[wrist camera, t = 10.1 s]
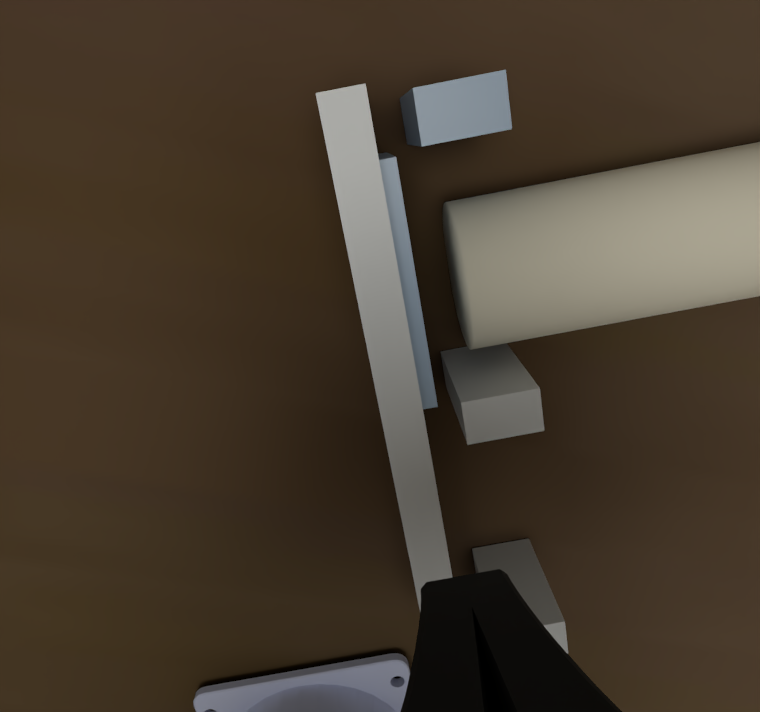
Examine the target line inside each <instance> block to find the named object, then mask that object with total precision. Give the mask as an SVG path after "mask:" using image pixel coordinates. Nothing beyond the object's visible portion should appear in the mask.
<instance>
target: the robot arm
mask: <svg viewBox="0 0 760 712" xmlns="http://www.w3.org/2000/svg"><path fill="white" fill-rule="evenodd" d="M396 676H400V677H401V678H398V679H395V678H393V677H396ZM193 703H194V708H195V710H196V712H622V711H621V710H620V709H619V708H618V707H617V706H616V705H615V704H614V703H613V702H612V701H611V700H610V699H609V698H608V697H607V696H606V695H605V694H604V693H603V692H602V691H601V690H600V689H599V688H598V687H597V686H596V685H595V684H594V683H593V682H592V681H591V680H590V678H589V677H588V676H587V675H586V674H585V673H584V672H583V671H582V670H581V669H580V668H579V666H578V665H577V664H576V663H575V662H574V661H573V660H572V658H571V657H570V656H569V655H568V654H567V653H566V652H565V650H564V649H563V648H562V647H561V646H560V645H559V644H558V642H557V641H556V640H555V639H554V638H553V636H552V635H551V634H550V633H549V632H548V630H547V629H546V628H545V627H544V625H543V624H542V623H541V622H540V620H539V619H538V618H537V616H536V615H535V614H534V613H533V611H532V610H531V609H530V607H529V606H528V605H527V603H526V602H525V601H524V599H523V598H522V596H521V595H520V593H519V592H518V590H517V589H516V587H515V586H514V584H513V583H512V581H511V580H510V578H509V576H508V574H507V573H505V572H504V571H502V570H501V569H497V570H491V571H485V572H480V573H474V574H469V575H463V576H458V577H452V578H446V579H441V580H435V581H430V582H426V583H425V584H424V586H423V587H422V588H421V610H420V621H419V629H418V635H417V642H416V648H415V653H414V658H413V662H412V667H411V672H410V669H409V664H408V661H407V658H406V657H405V656H403V655H402V654H398V653H391V654H386V655H380V656H374V657H369V658H363V659H357V660H352V661H346V662H340V663H335V664H329V665H323V666H318V667H312V668H306V669H301V670H295V671H289V672H284V673H278V674H273V675H267V676H261V677H256V678H250V679H244V680H239V681H233V682H227V683H222V684H216V685H210V686H205V687H202V688H200V689H199V690H198V691H197V692H196V694H195V698H194V701H193ZM208 709H213V710H215V711H210V710H208Z"/></svg>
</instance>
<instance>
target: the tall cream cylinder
mask: <svg viewBox="0 0 760 712" xmlns="http://www.w3.org/2000/svg"><path fill="white" fill-rule="evenodd" d="M442 218H443V235H444V242H445V249H446V255H447V262H448V269H449V275H450V282H451V289H452V295H453V299H454V304H455V308H456V313H457V317H458V321H459V324H460V328H461V331H462V334H463V337H464V340H465V342H466V345H467V347H468V348H469V349H470V350H472V349H478V348H483V347H488V346H494V345H499V344H504V343H510V342H515V341H521V340H526V339H531V338H537V337H542V336H547V335H553V334H558V333H564V332H569V331H574V330H580V329H585V328H590V327H596V326H601V325H607V324H612V323H617V322H623V321H628V320H633V319H639V318H644V317H649V316H655V315H660V314H666V313H671V312H676V311H682V310H687V309H692V308H698V307H703V306H709V305H714V304H719V303H725V302H730V301H735V300H741V299H746V298H752V297H757V296H760V142H756V143H751V144H746V145H740V146H735V147H730V148H725V149H720V150H714V151H709V152H704V153H699V154H694V155H688V156H683V157H678V158H673V159H668V160H662V161H657V162H652V163H647V164H641V165H636V166H631V167H626V168H621V169H615V170H610V171H605V172H600V173H595V174H589V175H584V176H579V177H574V178H569V179H563V180H558V181H553V182H548V183H542V184H537V185H532V186H527V187H522V188H516V189H511V190H506V191H501V192H496V193H490V194H485V195H480V196H475V197H470V198H464V199H459V200H454V201H449V202H445V203H444V205H443V216H442Z"/></svg>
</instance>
